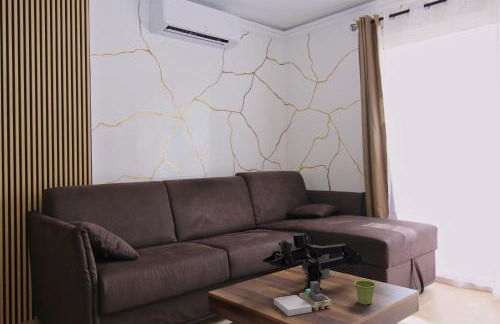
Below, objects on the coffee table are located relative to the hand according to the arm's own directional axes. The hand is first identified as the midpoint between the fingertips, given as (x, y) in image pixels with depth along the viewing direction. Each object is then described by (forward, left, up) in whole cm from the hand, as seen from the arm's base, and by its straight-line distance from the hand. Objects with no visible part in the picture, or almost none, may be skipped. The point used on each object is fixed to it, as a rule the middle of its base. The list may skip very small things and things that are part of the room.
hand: (266, 261), depth 195 cm
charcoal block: (-16, +22, -14) cm, 31 cm away
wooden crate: (-16, +19, -17) cm, 30 cm away
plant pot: (-37, +26, -17) cm, 49 cm away
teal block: (-16, +15, -14) cm, 26 cm away
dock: (-4, +19, -16) cm, 25 cm away
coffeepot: (-39, -16, -17) cm, 46 cm away
